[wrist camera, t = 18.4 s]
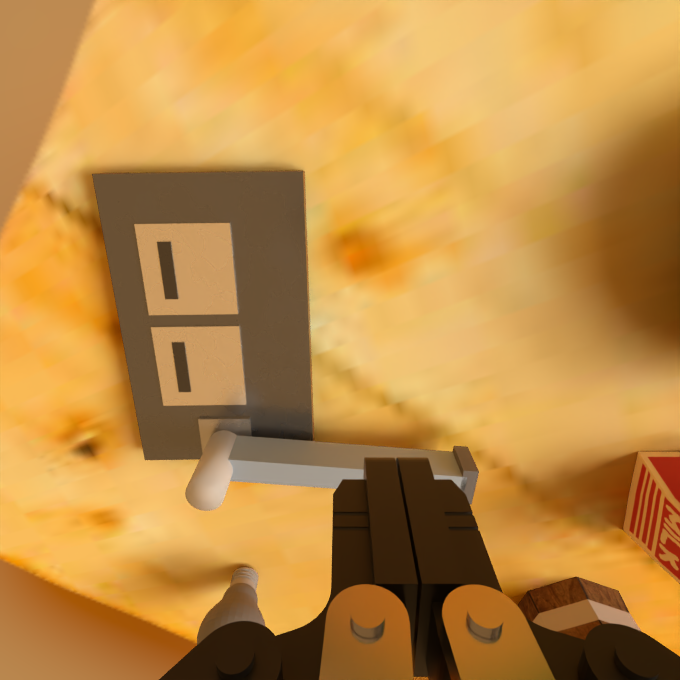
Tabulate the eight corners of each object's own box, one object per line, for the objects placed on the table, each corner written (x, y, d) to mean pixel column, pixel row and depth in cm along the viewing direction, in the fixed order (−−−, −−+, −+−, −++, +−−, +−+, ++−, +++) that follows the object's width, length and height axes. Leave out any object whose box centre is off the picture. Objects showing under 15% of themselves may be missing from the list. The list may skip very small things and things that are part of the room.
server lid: (102, 173, 35) (90, 173, 33) (304, 170, 35) (302, 171, 33) (151, 451, 44) (143, 463, 42) (314, 449, 44) (313, 461, 42)
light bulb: (259, 543, 47) (240, 636, 38) (284, 584, 49) (272, 683, 40) (206, 561, 48) (175, 657, 39) (233, 601, 50) (209, 701, 41)
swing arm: (208, 459, 41) (185, 511, 35) (208, 427, 40) (184, 475, 34) (460, 477, 42) (482, 532, 36) (467, 446, 41) (490, 497, 35)
